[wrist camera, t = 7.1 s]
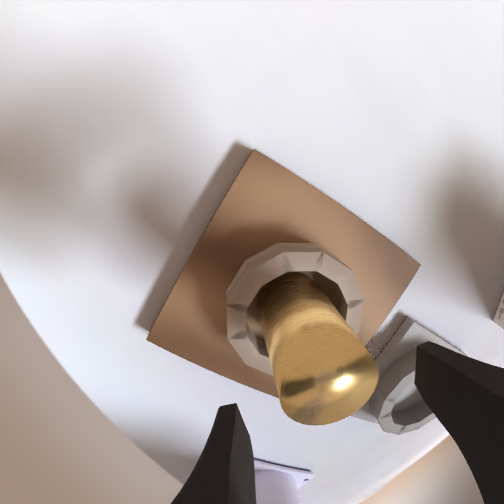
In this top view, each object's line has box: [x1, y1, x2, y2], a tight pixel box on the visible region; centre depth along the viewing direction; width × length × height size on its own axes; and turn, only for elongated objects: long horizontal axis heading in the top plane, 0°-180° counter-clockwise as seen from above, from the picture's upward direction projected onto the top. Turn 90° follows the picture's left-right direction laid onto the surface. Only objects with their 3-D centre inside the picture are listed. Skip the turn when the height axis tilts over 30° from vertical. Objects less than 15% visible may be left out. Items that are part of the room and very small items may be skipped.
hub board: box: [146, 149, 421, 398], centre depth 18 cm, size 13×13×3 cm
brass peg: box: [257, 273, 379, 425], centre depth 15 cm, size 4×4×8 cm
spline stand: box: [350, 316, 468, 435], centre depth 21 cm, size 9×9×3 cm
